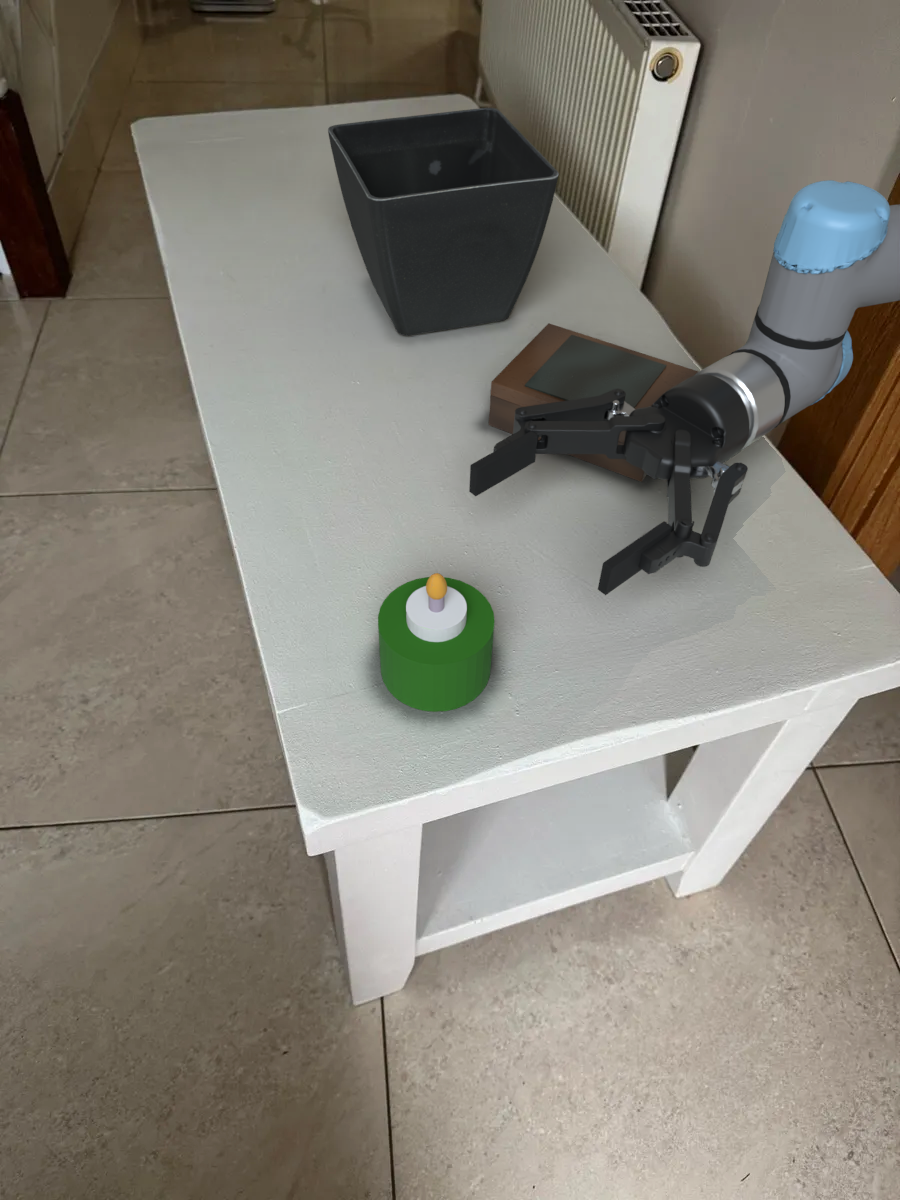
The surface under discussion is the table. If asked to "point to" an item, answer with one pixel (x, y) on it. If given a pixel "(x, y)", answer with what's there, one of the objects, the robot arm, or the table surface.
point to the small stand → (580, 381)
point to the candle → (435, 643)
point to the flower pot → (444, 213)
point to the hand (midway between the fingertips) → (535, 528)
